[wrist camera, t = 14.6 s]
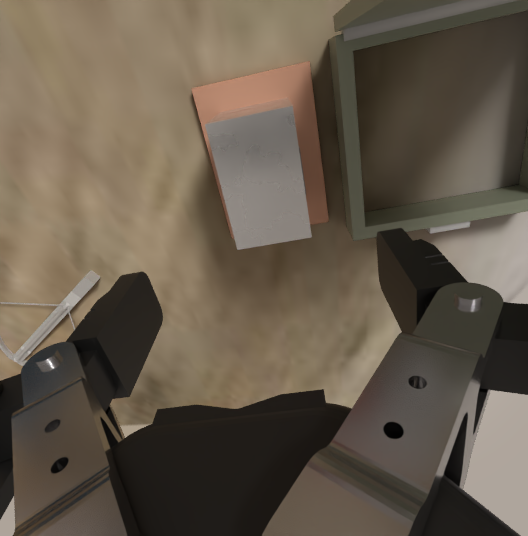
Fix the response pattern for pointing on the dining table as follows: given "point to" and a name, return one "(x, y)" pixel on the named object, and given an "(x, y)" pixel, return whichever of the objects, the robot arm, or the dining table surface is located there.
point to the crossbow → (51, 318)
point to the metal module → (261, 173)
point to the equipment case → (343, 76)
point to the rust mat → (265, 90)
